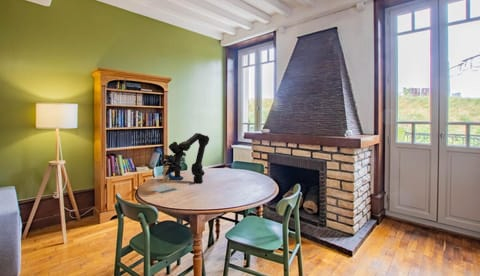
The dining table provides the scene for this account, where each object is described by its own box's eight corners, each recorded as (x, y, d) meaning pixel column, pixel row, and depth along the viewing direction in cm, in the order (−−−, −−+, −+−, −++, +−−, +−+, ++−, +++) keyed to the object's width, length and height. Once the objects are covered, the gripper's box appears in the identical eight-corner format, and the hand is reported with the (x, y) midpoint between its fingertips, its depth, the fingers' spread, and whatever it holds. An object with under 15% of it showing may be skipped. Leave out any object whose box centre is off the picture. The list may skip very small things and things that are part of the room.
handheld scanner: (183, 180, 219) (183, 157, 218) (166, 179, 223) (165, 156, 221) (186, 179, 224) (185, 156, 222) (168, 178, 227) (168, 156, 226)
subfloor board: (147, 190, 191) (147, 188, 191) (164, 186, 202) (164, 184, 202) (163, 196, 178) (163, 193, 178) (180, 191, 189) (180, 189, 189)
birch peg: (169, 180, 188) (169, 165, 187) (167, 182, 184) (167, 166, 183) (164, 180, 188) (164, 165, 187) (162, 182, 184) (162, 166, 184)
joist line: (173, 188, 191) (173, 188, 191) (177, 189, 189) (177, 189, 189) (158, 192, 182) (158, 192, 182) (162, 193, 179) (162, 193, 179)
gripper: (163, 149, 193) (149, 166, 186) (177, 151, 181) (163, 169, 174) (172, 158, 200) (159, 175, 193) (187, 161, 187) (174, 179, 180)
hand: (164, 174), depth 185 cm, fingers closed on birch peg, 4 cm apart
